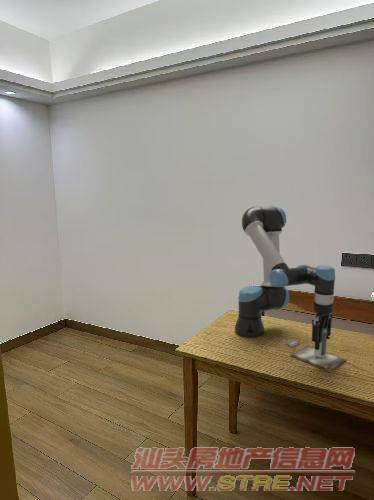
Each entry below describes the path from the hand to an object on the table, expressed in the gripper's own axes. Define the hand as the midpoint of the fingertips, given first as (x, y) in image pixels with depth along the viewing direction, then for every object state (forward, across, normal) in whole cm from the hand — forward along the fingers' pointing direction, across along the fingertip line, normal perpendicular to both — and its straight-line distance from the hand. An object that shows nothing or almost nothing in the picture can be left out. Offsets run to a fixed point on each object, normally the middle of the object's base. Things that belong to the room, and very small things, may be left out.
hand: (320, 354), depth 144 cm
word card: (+2, +3, +16) cm, 16 cm away
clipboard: (+2, -1, +1) cm, 2 cm away
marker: (0, 0, 0) cm, 0 cm away
